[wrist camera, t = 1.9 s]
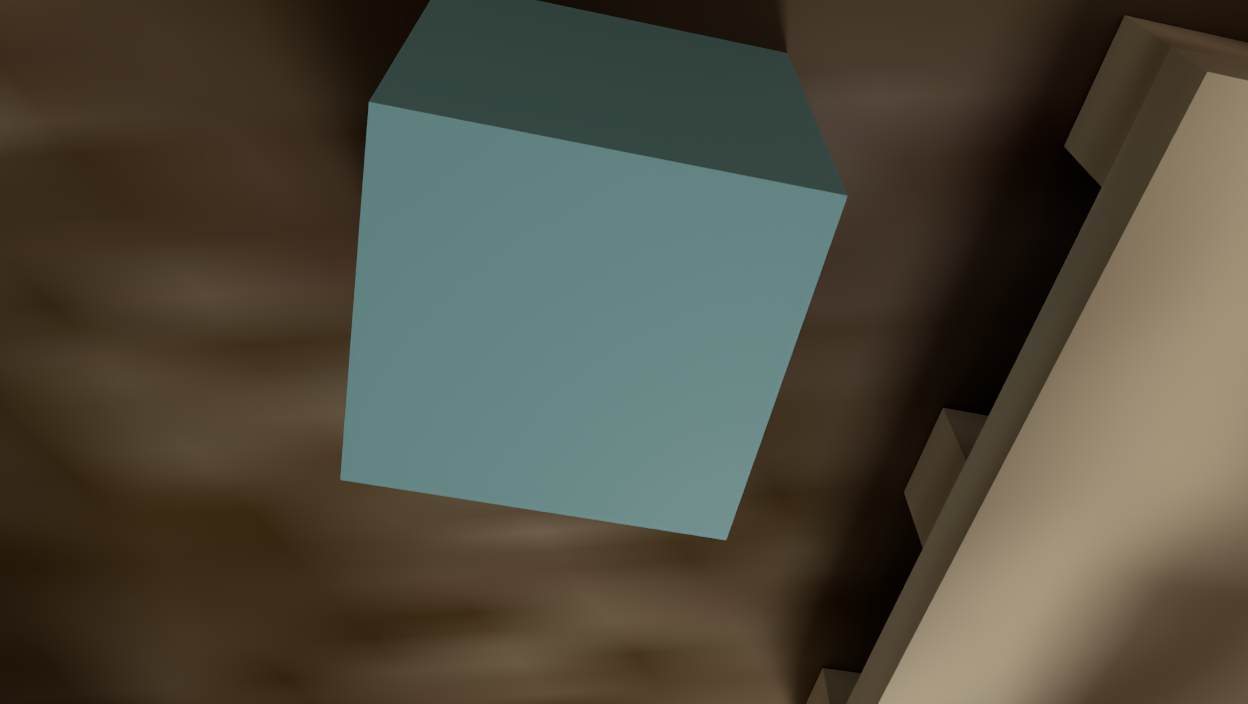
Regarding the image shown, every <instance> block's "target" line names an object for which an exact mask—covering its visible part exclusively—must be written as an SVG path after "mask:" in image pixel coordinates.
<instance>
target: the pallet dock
mask: <svg viewBox="0 0 1248 704" xmlns="http://www.w3.org/2000/svg"><path fill="white" fill-rule="evenodd" d="M1064 147H1065V148H1066V149H1067V150H1068V151H1069V152H1070V153H1071V155H1072V156H1073V157H1074V158H1075V159H1076V160H1077V161H1078V162H1079V163H1080V164H1081V165H1082V166H1083V167H1084V169H1085V170H1086V171H1087V172H1088V173H1089V174H1090V175H1091V176H1092V177H1093V178H1094V179H1095V180H1096V181H1097V183H1098V184H1099V185H1100V186H1101V187H1102V188H1101V190H1100V192H1099V194H1098V196H1097V198H1096V200H1095V202H1094V204H1093V206H1092V208H1091V210H1090V212H1089V214H1088V216H1087V218H1086V220H1085V222H1084V224H1083V226H1082V228H1081V230H1080V232H1079V234H1078V236H1077V238H1076V240H1075V242H1074V244H1073V246H1072V248H1071V250H1070V252H1069V254H1068V256H1067V258H1066V261H1065V263H1064V265H1063V267H1062V269H1061V271H1060V273H1059V275H1058V277H1057V279H1056V281H1055V283H1054V285H1053V287H1052V289H1051V291H1050V293H1049V295H1048V297H1047V299H1046V301H1045V303H1044V305H1043V307H1042V309H1041V311H1040V313H1039V315H1038V317H1037V319H1036V321H1035V323H1034V325H1033V327H1032V329H1031V331H1030V333H1029V335H1028V337H1027V339H1026V341H1025V343H1024V345H1023V347H1022V349H1021V351H1020V353H1019V355H1018V357H1017V359H1016V362H1015V364H1014V366H1013V368H1012V370H1011V372H1010V374H1009V376H1008V378H1007V380H1006V382H1005V384H1004V386H1003V388H1002V390H1001V392H1000V394H999V396H998V398H997V400H996V402H995V404H994V406H993V408H992V410H991V412H990V414H989V416H987V415H982V414H976V413H970V412H964V411H959V410H953V409H947V408H943V409H942V411H941V413H940V415H939V417H938V420H937V422H936V424H935V426H934V428H933V430H932V433H931V435H930V437H929V439H928V441H927V443H926V445H925V448H924V450H923V452H922V454H921V456H920V458H919V461H918V463H917V465H916V467H915V469H914V471H913V474H912V476H911V478H910V480H909V482H908V484H907V487H906V489H905V491H904V494H905V497H906V500H907V503H908V506H909V509H910V512H911V515H912V518H913V521H914V524H915V527H916V530H917V532H918V535H919V538H920V541H921V544H922V547H923V549H922V551H921V553H920V555H919V557H918V559H917V562H916V564H915V566H914V568H913V570H912V572H911V574H910V576H909V578H908V580H907V582H906V584H905V586H904V588H903V590H902V592H901V594H900V596H899V598H898V600H897V602H896V604H895V606H894V608H893V610H892V612H891V614H890V616H889V618H888V620H887V622H886V624H885V626H884V628H883V630H882V632H881V634H880V636H879V638H878V640H877V642H876V644H875V646H874V648H873V650H872V652H871V654H870V656H869V658H868V661H867V663H866V665H865V667H864V669H863V671H862V673H855V672H848V671H841V670H834V669H827V668H822V670H821V672H820V675H819V677H818V679H817V681H816V683H815V685H814V687H813V690H812V692H811V694H810V696H809V698H808V700H807V703H806V704H1248V43H1247V42H1243V41H1238V40H1234V39H1229V38H1225V37H1220V36H1216V35H1211V34H1207V33H1202V32H1198V31H1193V30H1189V29H1184V28H1180V27H1175V26H1171V25H1166V24H1162V23H1157V22H1153V21H1148V20H1144V19H1139V18H1135V17H1130V16H1126V15H1125V16H1124V18H1123V20H1122V22H1121V24H1120V26H1119V28H1118V31H1117V33H1116V35H1115V37H1114V39H1113V41H1112V44H1111V46H1110V48H1109V50H1108V52H1107V54H1106V57H1105V59H1104V61H1103V63H1102V65H1101V67H1100V70H1099V72H1098V74H1097V76H1096V78H1095V80H1094V82H1093V85H1092V87H1091V89H1090V91H1089V93H1088V95H1087V98H1086V100H1085V102H1084V104H1083V106H1082V108H1081V111H1080V113H1079V115H1078V117H1077V119H1076V121H1075V124H1074V126H1073V128H1072V130H1071V132H1070V134H1069V137H1068V139H1067V141H1066V143H1065V145H1064Z"/></svg>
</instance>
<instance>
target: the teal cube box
mask: <svg viewBox="0 0 1248 704" xmlns="http://www.w3.org/2000/svg"><path fill="white" fill-rule="evenodd" d="M847 196H848V195H847V193H846V191H845V188H844V186H843V184H842V181H841V179H840V177H839V174H838V172H837V169H836V167H835V165H834V162H833V160H832V158H831V155H830V153H829V151H828V148H827V146H826V144H825V141H824V139H823V136H822V134H821V132H820V129H819V127H818V125H817V122H816V120H815V118H814V115H813V113H812V110H811V108H810V106H809V103H808V101H807V99H806V96H805V94H804V92H803V89H802V87H801V84H800V82H799V80H798V77H797V75H796V73H795V70H794V68H793V66H792V63H791V61H790V58H789V56H788V54H787V53H785V52H780V51H775V50H770V49H765V48H761V47H756V46H751V45H746V44H742V43H737V42H732V41H727V40H723V39H718V38H713V37H708V36H704V35H699V34H694V33H689V32H685V31H680V30H675V29H670V28H666V27H661V26H656V25H651V24H647V23H642V22H637V21H632V20H628V19H623V18H618V17H613V16H609V15H604V14H599V13H594V12H590V11H585V10H580V9H575V8H571V7H566V6H561V5H556V4H552V3H547V2H542V1H537V0H430V2H429V3H428V5H427V6H426V8H425V10H424V11H423V13H422V15H421V16H420V18H419V20H418V21H417V23H416V25H415V26H414V28H413V30H412V31H411V33H410V35H409V36H408V38H407V40H406V41H405V43H404V45H403V46H402V48H401V49H400V51H399V53H398V54H397V56H396V58H395V59H394V61H393V63H392V64H391V66H390V68H389V69H388V71H387V73H386V74H385V76H384V78H383V79H382V81H381V83H380V84H379V86H378V88H377V89H376V91H375V93H374V94H373V96H372V97H371V99H370V101H369V107H368V120H367V133H366V146H365V160H364V173H363V186H362V199H361V213H360V226H359V239H358V252H357V266H356V279H355V292H354V305H353V319H352V332H351V345H350V358H349V372H348V385H347V398H346V411H345V425H344V438H343V451H342V464H341V478H340V480H345V481H351V482H357V483H364V484H370V485H377V486H383V487H389V488H396V489H402V490H409V491H415V492H421V493H428V494H434V495H441V496H447V497H453V498H460V499H466V500H472V501H479V502H485V503H492V504H498V505H504V506H511V507H517V508H524V509H530V510H536V511H543V512H549V513H556V514H562V515H568V516H575V517H581V518H587V519H594V520H600V521H607V522H613V523H619V524H626V525H632V526H639V527H645V528H651V529H658V530H664V531H671V532H677V533H683V534H690V535H696V536H703V537H709V538H715V539H722V540H726V539H727V536H728V534H729V531H730V528H731V525H732V522H733V519H734V516H735V514H736V511H737V508H738V505H739V502H740V499H741V497H742V494H743V491H744V488H745V485H746V482H747V480H748V477H749V474H750V471H751V468H752V465H753V463H754V460H755V457H756V454H757V451H758V448H759V446H760V443H761V440H762V437H763V434H764V431H765V429H766V426H767V423H768V420H769V417H770V414H771V412H772V409H773V406H774V403H775V400H776V397H777V395H778V392H779V389H780V386H781V383H782V380H783V378H784V375H785V372H786V369H787V366H788V363H789V361H790V358H791V355H792V352H793V349H794V346H795V344H796V341H797V338H798V335H799V332H800V329H801V327H802V324H803V321H804V318H805V315H806V312H807V310H808V307H809V304H810V301H811V298H812V295H813V292H814V290H815V287H816V284H817V281H818V278H819V275H820V273H821V270H822V267H823V264H824V261H825V258H826V256H827V253H828V250H829V247H830V244H831V241H832V239H833V236H834V233H835V230H836V227H837V224H838V222H839V219H840V216H841V213H842V210H843V207H844V205H845V202H846V199H847Z"/></svg>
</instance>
